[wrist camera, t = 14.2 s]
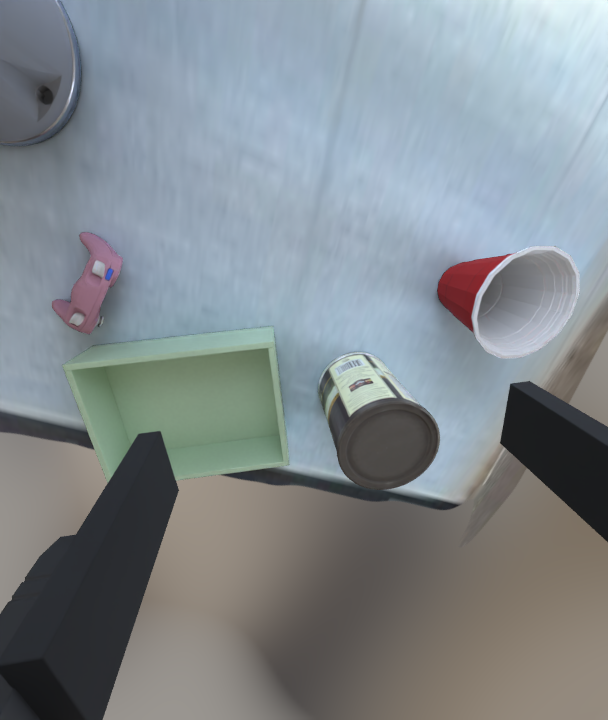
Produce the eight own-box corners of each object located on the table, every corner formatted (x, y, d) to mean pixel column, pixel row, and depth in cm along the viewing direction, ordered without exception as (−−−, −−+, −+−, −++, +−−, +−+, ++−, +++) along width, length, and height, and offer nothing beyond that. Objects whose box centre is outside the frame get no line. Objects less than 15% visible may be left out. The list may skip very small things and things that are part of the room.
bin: (93, 345, 39) (61, 365, 33) (273, 325, 41) (273, 341, 35) (130, 456, 45) (109, 489, 39) (287, 436, 47) (289, 465, 41)
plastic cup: (460, 343, 44) (524, 380, 33) (401, 300, 41) (450, 324, 30) (518, 275, 41) (609, 290, 30) (459, 223, 38) (537, 218, 27)
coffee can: (353, 431, 48) (385, 506, 34) (302, 390, 44) (315, 455, 31) (406, 382, 45) (461, 442, 32) (355, 335, 42) (394, 381, 29)
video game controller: (95, 318, 40) (96, 347, 35) (50, 304, 37) (44, 333, 32) (128, 246, 37) (134, 266, 32) (82, 225, 34) (81, 243, 29)
